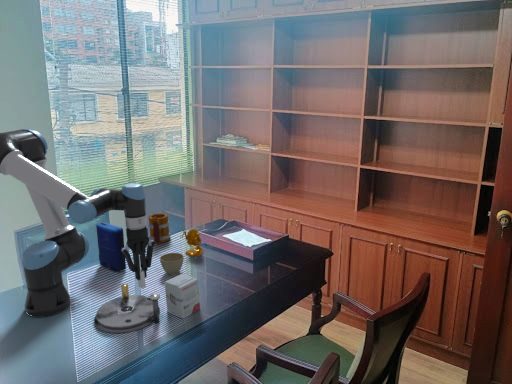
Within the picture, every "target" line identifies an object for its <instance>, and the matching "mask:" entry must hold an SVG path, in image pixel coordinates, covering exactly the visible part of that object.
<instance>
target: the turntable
mask: <svg viewBox="0 0 512 384" xmlns="http://www.w3.org/2000/svg"><path fill="white" fill-rule="evenodd" d="M120 288H121V296H120V297H116V298H113V299H111V300H109V301H106V302H105V303H103V304H102V305H101V306H99V308H98V309H97V311H96V314H97V321H98V323H99V324H100V325H101V326H103V327H105V328H109V329H128V328H133V327H137V326H139V325H142V324H144V323H146V322H148V321H149V320H151V319H152V318H153V317H154V313H153V301H150V300H147V297H148V296H146V295H141V294H140V295H139V294H138V295H137V294H130V292H129V284H128V283H123V284H120Z"/></svg>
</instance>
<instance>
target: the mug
mask: <svg viewBox="0 0 512 384" xmlns="http://www.w3.org/2000/svg"><path fill="white" fill-rule="evenodd" d="M147 225H148V226H147V227H148V228H149V233H148V237H149V240H153V241H155V242H156V243H155V245H160V244H163V243H167V242H169V241H170V240H171V232H170V228H169V227H170V221H169V215H168V214H166V213H153V214H149V216H148V222H147Z"/></svg>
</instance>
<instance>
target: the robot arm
mask: <svg viewBox="0 0 512 384" xmlns="http://www.w3.org/2000/svg"><path fill="white" fill-rule="evenodd" d="M48 149H49V148H48V143H47V141H46V139H45V137H44V135H43V134H42V133H40V132H39V131H37V130H34V129H30V128H28V129H27V128H26V129H25V128H24V129H21V128H20V129H17V130H12V131H4V132H0V174H2V175H3V176H11V177H13V178H14V179H15V180H18V181H19V182H21V183H22V184H24V185H25V187H26V190H27V191H28V194H29V196H30V198H31V200H32V203H33V206H34V208H35V210H36V211H37V212H36V213H37V214H38V217H39V219H40V222H41V223H42V226H43V229H44V230H45V233H46V234H45V236H44V238H43V240H42V241H39V242H36V243H35V242H34V243H32V244H31V245H29V246H27V247H26V248H25V249H24V250H23V252H22V257H21V258H22V267H23V271H24V277H25V282H26V287H27V288H26V289H27V294H26V296H25V297H26V298H25V303H24V310H25V311H26V312H27V313H28V314H29V315H32V316H38V317H37V318H40V317H39V316H45V317H49V315H50V316H54V315H56V314H59V313H62V312H63V311H65V310H66V309H68V308H69V307H70V305H71V304H72V303H71V302H72V301H71V296H70V293H69V292H68V289H67V288H66V286H65V284H64V281H63V272H65V271H66V270H67V269H69V268H71V267H73V266H74V265H76V264H78V263H80V262H82V260H83V259H84V258H86V256H87V255H88V253H89V249H90V244H89V240H88V238H87V236H86V235H85V233H83V232H81V231H79V230H77V228H76V226H75V225H72V224H70V222H69V220H68V217H69V218H70V219H71V221H72V222H74V223H75V224H78V225H82V224H86V223H88V222H91V221H93V220H95V219H96V218H99V217H100V216H103V215H104V214H106V213H108V212H111V211H123V212H124V213H123V214H124V223H125V233H126V243H125V244H126V245H124V248H121V251H122V252H123V253H124V256H125V261H126V265H127V267H128V269H129V271H131V272H132V273H134V275H135V280H136V281H137V282H138V287H139V288H141V289H144V288H146V278H147V271H148V270H149V269H148V268H151V266H152V259H153V252H154V247H155V245H156V242H155V241H153V240H150V239H149V229H148V228H149V226H147V225H148V218H147V217H148V215H147V207H146V195H145V194H146V193H145V187H144V185H143V184H141V183H136V182H133V183H126V184H123V186H122V187H121V189H119V188H118V189H117V188H116V189H115V188H106V187H103V188H95V189H94V190H93V192H91V194H90V195H88V194H86V193H84V192H82V191H81V190H79V189H78V188H76V187H74V186H72V185H71V184H69V183H67V182H65V181H64V180H63V179H61V178H59V177H58V176H56V175H54V174H53V173H51V172H50V171H48V170H47V168H46V163H47V161H48V159H47V157H46V154H47V153H48ZM64 209H65V210H67V213H68V217H67V215H66V213H65V211H64ZM130 250H131V253H132V256H131V254H130ZM25 311H24V312H25ZM26 312H25V313H26ZM53 314H54V315H53ZM29 315H28V316H29ZM32 316H31V317H32Z"/></svg>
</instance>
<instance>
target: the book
mask: <svg viewBox="0 0 512 384" xmlns="http://www.w3.org/2000/svg"><path fill="white" fill-rule="evenodd" d="M95 228H96V236H97V247H98V261H99V265H100V266H101V267H103V268H105V269H108V270H111V271H113V272H118V273H120V272H123V271H125V270H126V269H127V261H126V258H125V256H124V253H123V252H122V251H121V248H124V247H125V238H124V237H125V236H124V235H125V234H124V229H123V227H122V226H117V225H114V224H111V223H107V222H104V221H103V222H99V223H96V226H95Z"/></svg>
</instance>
